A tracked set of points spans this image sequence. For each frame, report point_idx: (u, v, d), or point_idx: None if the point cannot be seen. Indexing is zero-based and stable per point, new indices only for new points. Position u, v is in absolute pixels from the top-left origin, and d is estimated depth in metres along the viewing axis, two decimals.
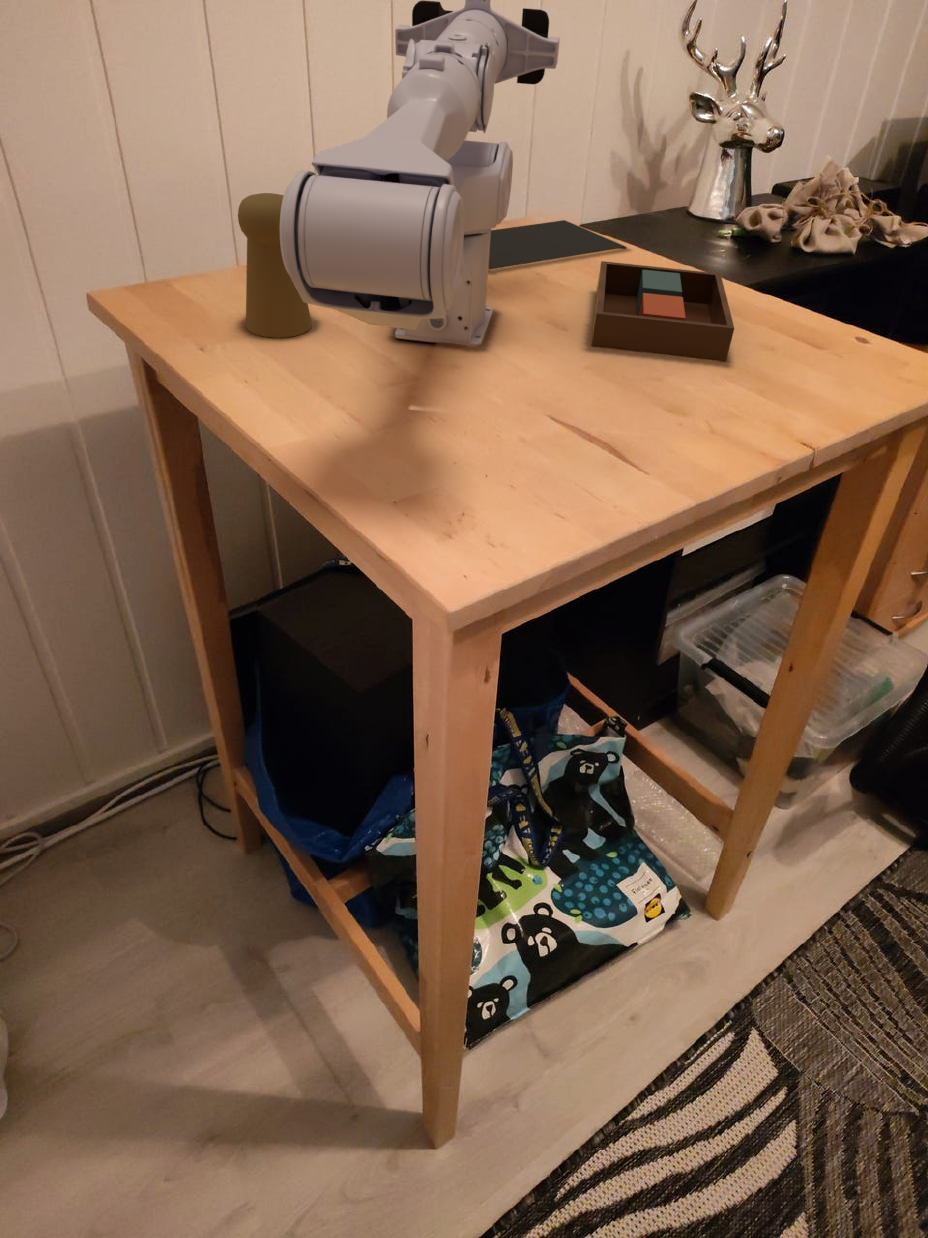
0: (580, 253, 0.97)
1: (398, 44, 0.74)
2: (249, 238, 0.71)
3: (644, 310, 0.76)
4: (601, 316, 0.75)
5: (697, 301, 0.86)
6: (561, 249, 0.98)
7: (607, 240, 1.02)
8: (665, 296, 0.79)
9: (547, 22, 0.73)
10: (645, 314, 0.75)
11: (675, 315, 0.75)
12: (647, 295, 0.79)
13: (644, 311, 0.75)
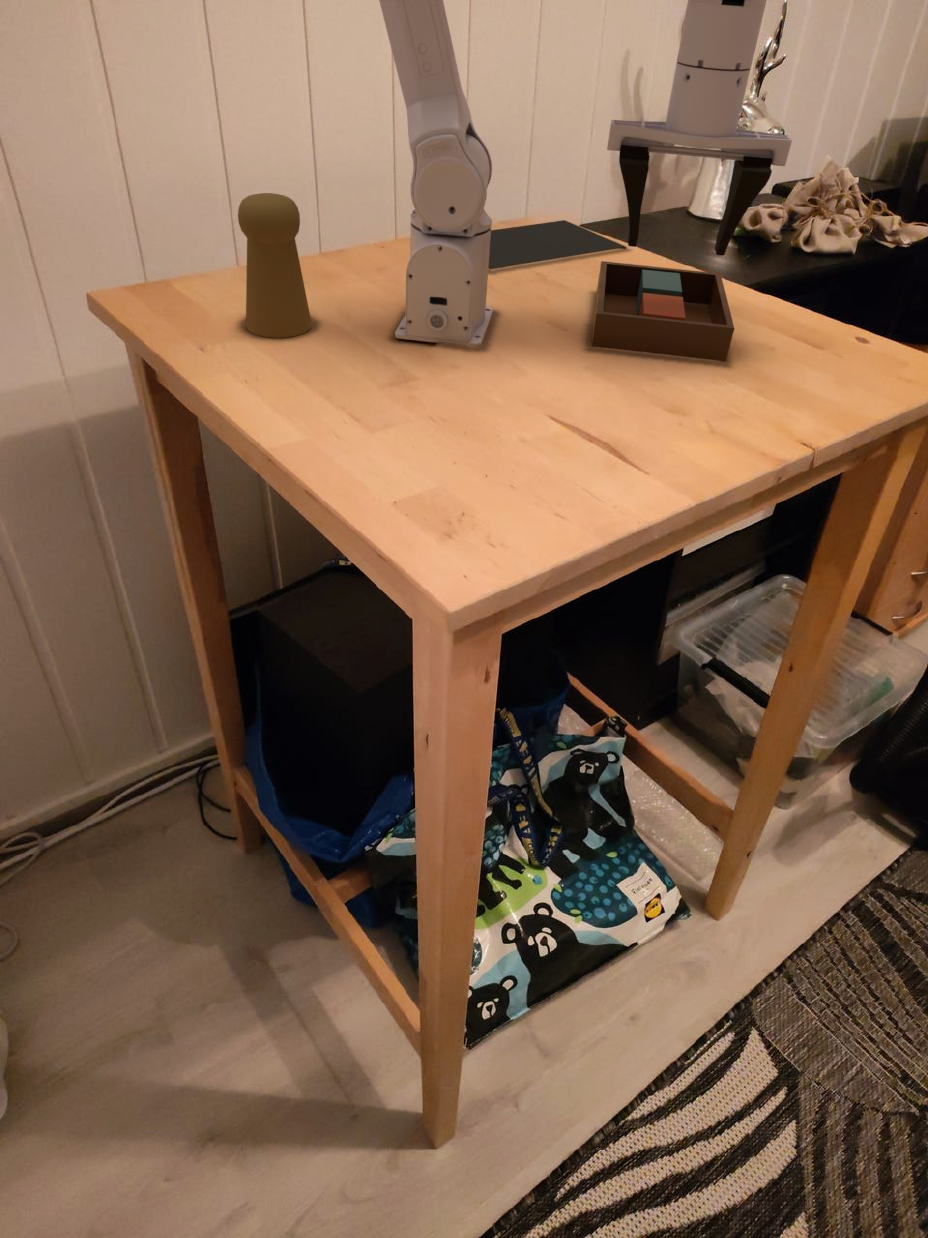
0: (580, 253, 0.97)
1: (614, 122, 0.68)
2: (249, 238, 0.71)
3: (644, 310, 0.76)
4: (601, 316, 0.75)
5: (697, 301, 0.86)
6: (561, 249, 0.98)
7: (607, 240, 1.02)
8: (665, 296, 0.79)
9: None
10: (645, 314, 0.75)
11: (675, 315, 0.75)
12: (647, 295, 0.79)
13: (644, 311, 0.75)
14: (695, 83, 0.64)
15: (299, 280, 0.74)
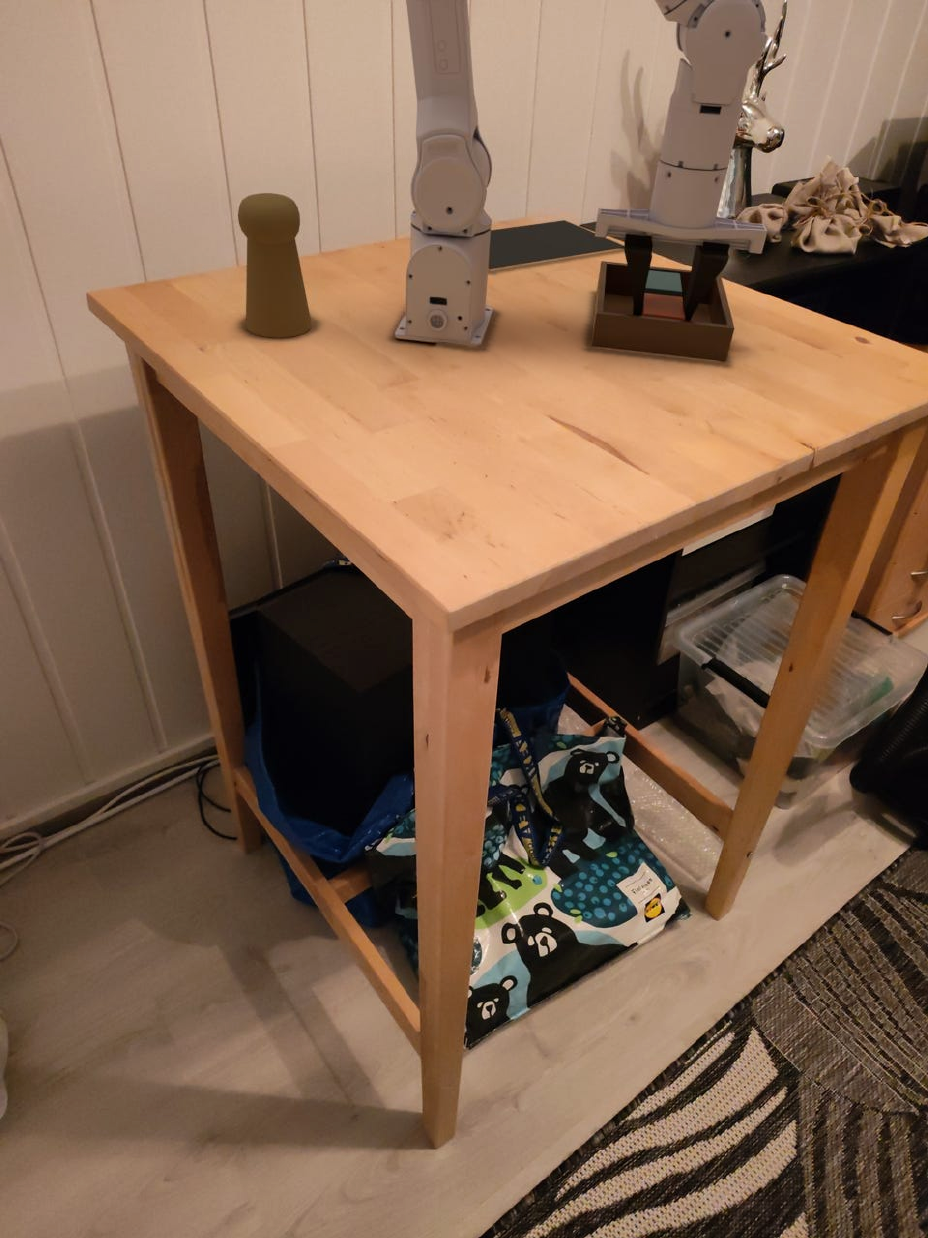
0: (580, 253, 0.97)
1: (601, 211, 0.73)
2: (249, 238, 0.71)
3: (644, 310, 0.76)
4: (601, 316, 0.75)
5: None
6: (561, 249, 0.98)
7: (607, 240, 1.02)
8: (665, 296, 0.79)
9: None
10: (645, 314, 0.75)
11: (674, 315, 0.75)
12: (646, 295, 0.79)
13: (644, 311, 0.75)
14: (676, 181, 0.68)
15: (299, 280, 0.74)
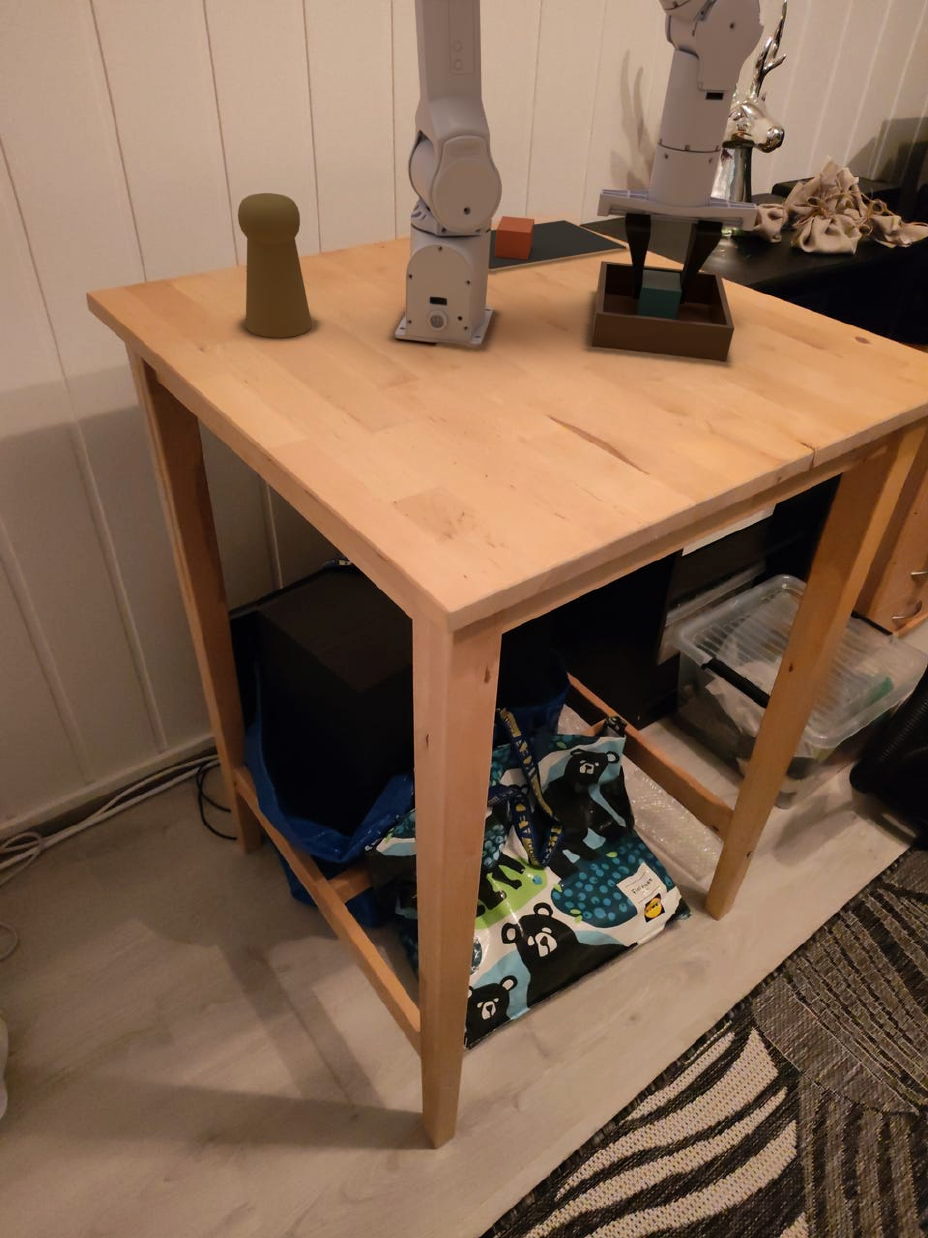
0: (580, 253, 0.97)
1: (603, 192, 0.78)
2: (249, 238, 0.71)
3: (498, 227, 0.93)
4: (601, 316, 0.75)
5: (697, 301, 0.86)
6: (561, 249, 0.98)
7: (607, 240, 1.02)
8: (520, 218, 0.96)
9: None
10: (498, 230, 0.93)
11: (522, 230, 0.93)
12: (504, 217, 0.96)
13: (497, 228, 0.93)
14: (673, 162, 0.74)
15: (299, 280, 0.74)
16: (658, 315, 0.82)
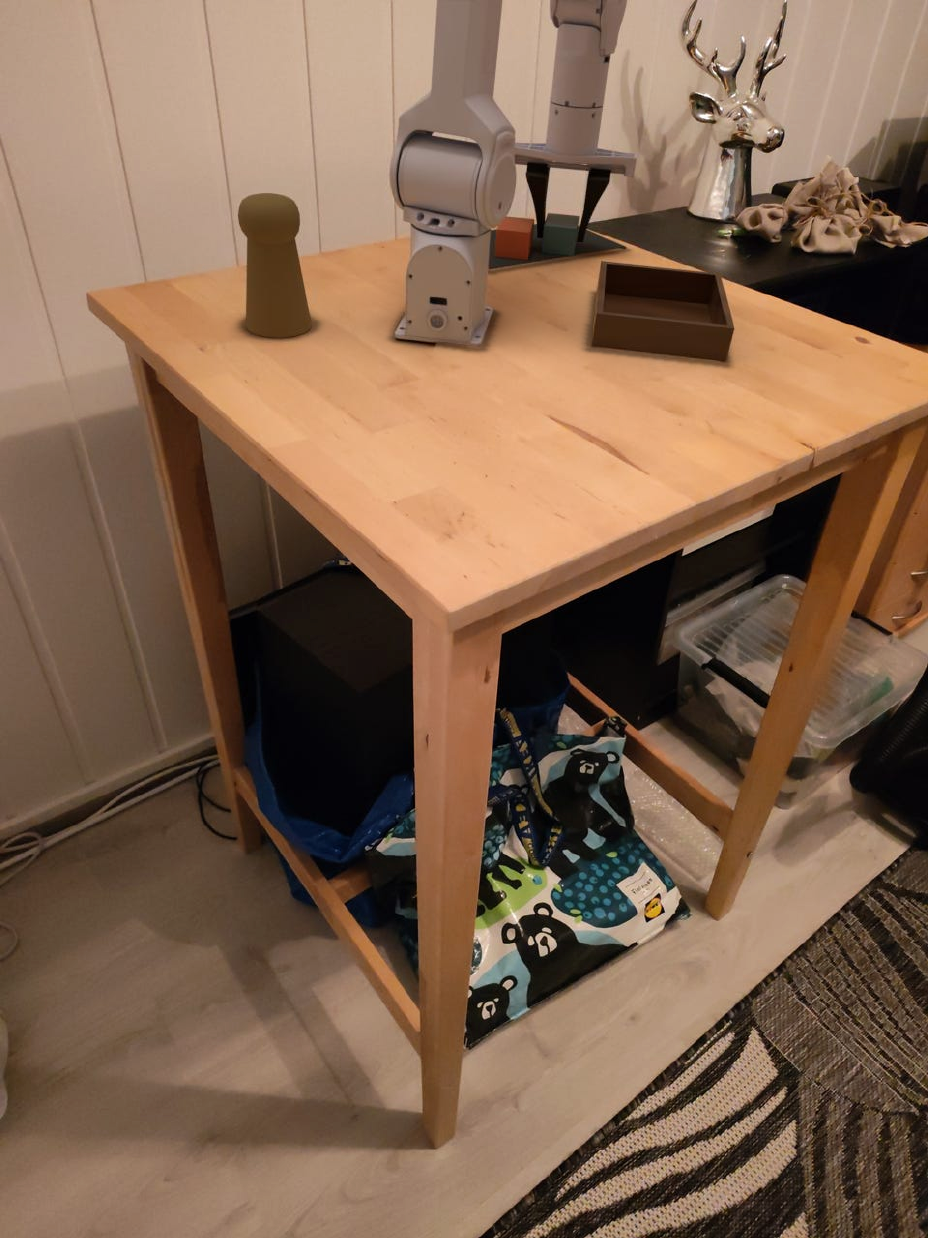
0: (580, 253, 0.97)
1: None
2: (249, 238, 0.71)
3: (497, 227, 0.93)
4: (601, 316, 0.75)
5: (697, 301, 0.86)
6: None
7: (607, 240, 1.02)
8: (519, 218, 0.96)
9: None
10: (498, 230, 0.93)
11: (521, 230, 0.93)
12: None
13: (497, 228, 0.93)
14: (561, 117, 0.88)
15: (299, 280, 0.74)
16: (559, 250, 0.96)
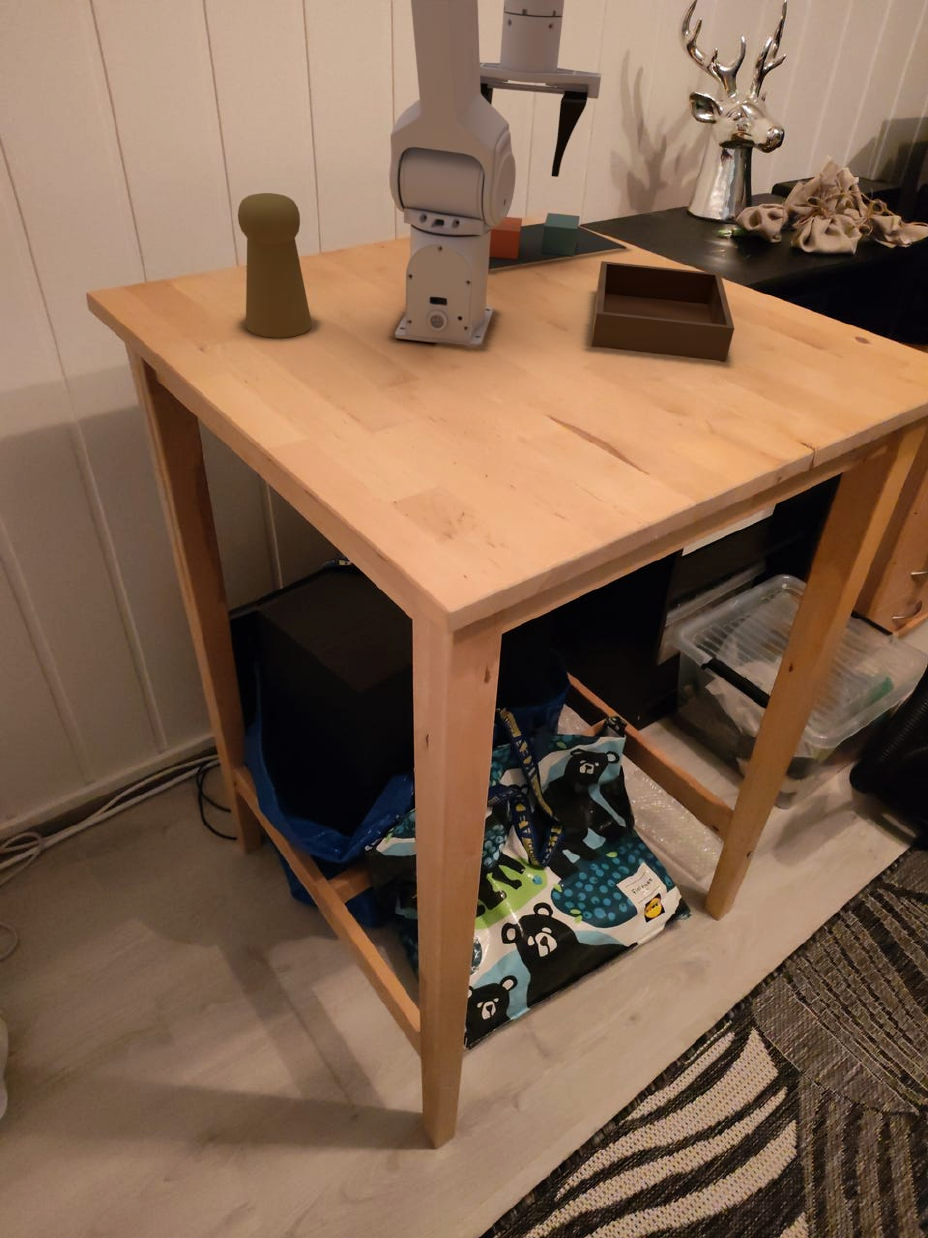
0: (580, 253, 0.97)
1: None
2: (249, 238, 0.71)
3: None
4: (601, 316, 0.75)
5: (697, 301, 0.86)
6: None
7: (607, 240, 1.02)
8: (507, 217, 0.96)
9: None
10: None
11: (511, 230, 0.93)
12: None
13: None
14: (515, 27, 0.79)
15: (299, 280, 0.74)
16: (559, 250, 0.96)
